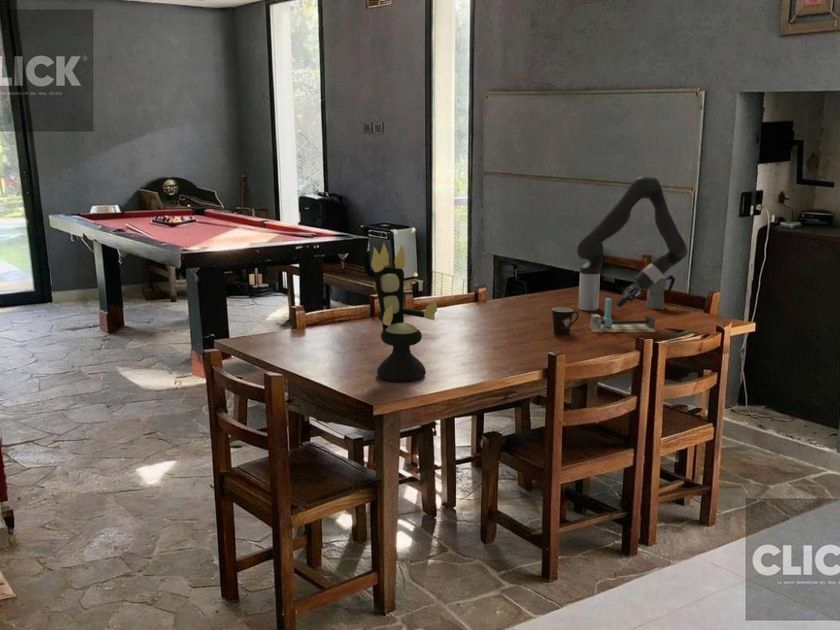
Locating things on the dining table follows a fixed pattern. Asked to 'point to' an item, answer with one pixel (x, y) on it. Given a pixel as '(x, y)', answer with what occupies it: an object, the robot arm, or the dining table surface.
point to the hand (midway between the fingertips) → (618, 305)
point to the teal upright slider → (607, 313)
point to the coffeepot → (659, 293)
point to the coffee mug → (562, 320)
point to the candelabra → (397, 319)
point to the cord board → (646, 327)
